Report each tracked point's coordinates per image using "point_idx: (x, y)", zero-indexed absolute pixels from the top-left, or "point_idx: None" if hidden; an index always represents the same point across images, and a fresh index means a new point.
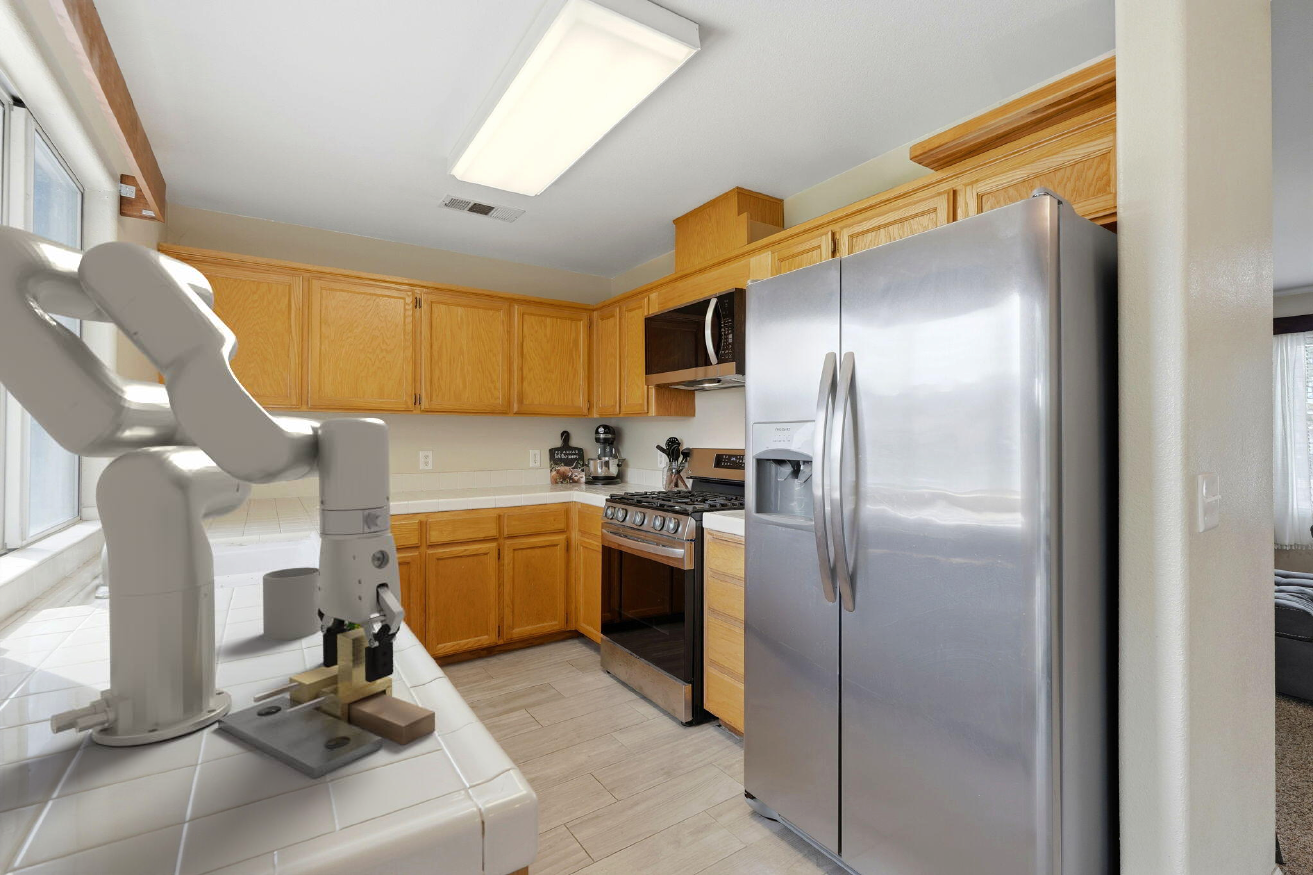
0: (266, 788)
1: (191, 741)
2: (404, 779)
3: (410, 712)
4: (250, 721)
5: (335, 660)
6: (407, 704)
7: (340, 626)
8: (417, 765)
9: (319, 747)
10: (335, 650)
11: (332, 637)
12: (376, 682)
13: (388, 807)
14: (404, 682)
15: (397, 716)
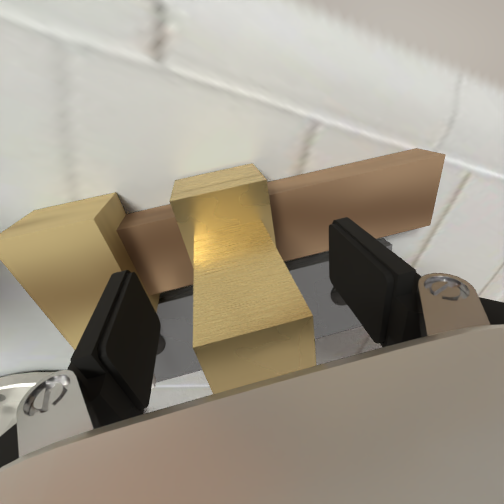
0: (346, 344)
1: (158, 394)
2: (470, 243)
3: (400, 192)
4: (174, 362)
5: (152, 316)
6: (363, 180)
7: (109, 404)
8: (465, 219)
9: (338, 309)
10: (144, 339)
11: (139, 389)
12: (264, 221)
13: (489, 271)
14: (100, 53)
15: (391, 218)
